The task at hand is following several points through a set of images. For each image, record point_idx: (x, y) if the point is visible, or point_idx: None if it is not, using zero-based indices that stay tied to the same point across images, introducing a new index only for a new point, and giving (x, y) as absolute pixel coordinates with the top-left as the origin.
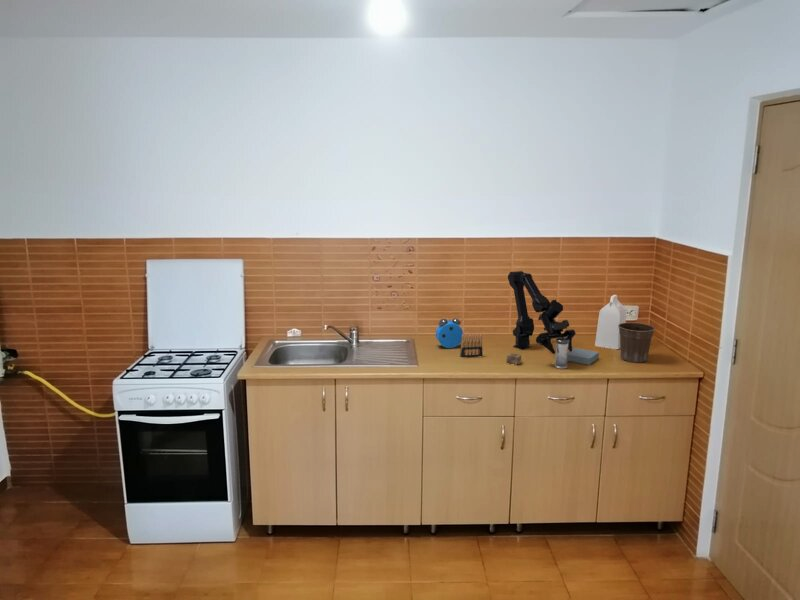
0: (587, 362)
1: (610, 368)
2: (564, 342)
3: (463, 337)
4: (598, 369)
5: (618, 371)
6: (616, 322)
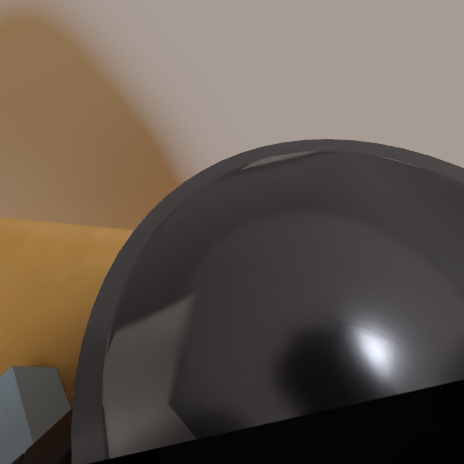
0: (48, 380)
1: (7, 280)
2: (319, 155)
3: None
4: (76, 273)
5: (18, 236)
6: None
